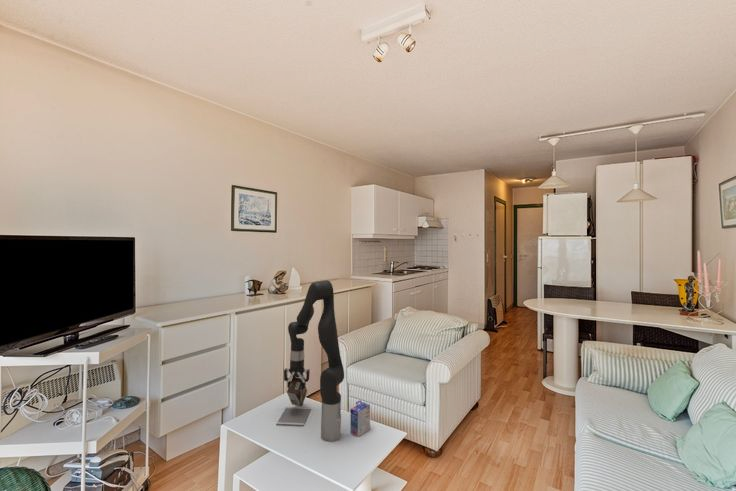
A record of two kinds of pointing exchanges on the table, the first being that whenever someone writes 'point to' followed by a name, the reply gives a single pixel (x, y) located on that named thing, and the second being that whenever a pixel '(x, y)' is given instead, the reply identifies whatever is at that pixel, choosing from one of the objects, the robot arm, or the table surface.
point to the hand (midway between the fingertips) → (296, 388)
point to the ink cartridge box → (360, 418)
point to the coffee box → (296, 392)
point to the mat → (294, 416)
